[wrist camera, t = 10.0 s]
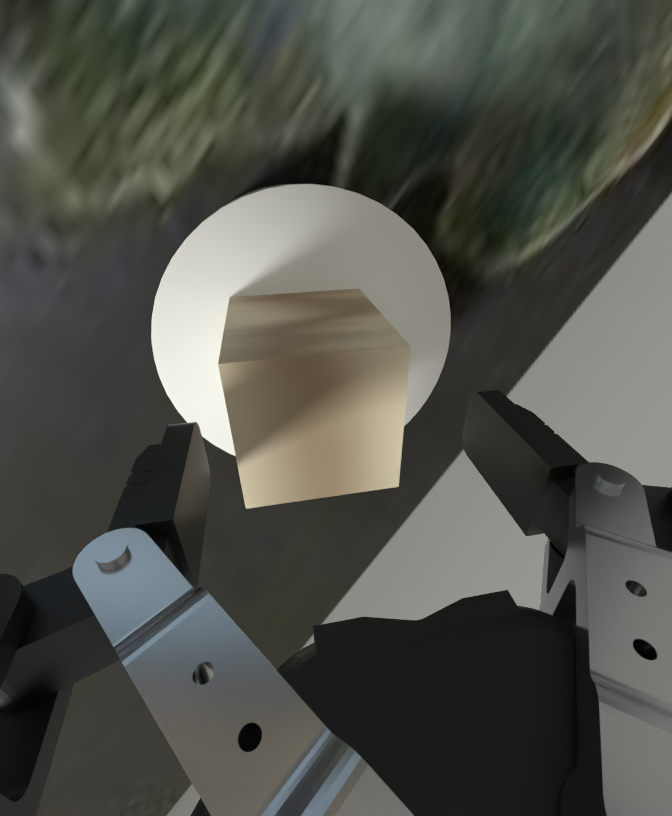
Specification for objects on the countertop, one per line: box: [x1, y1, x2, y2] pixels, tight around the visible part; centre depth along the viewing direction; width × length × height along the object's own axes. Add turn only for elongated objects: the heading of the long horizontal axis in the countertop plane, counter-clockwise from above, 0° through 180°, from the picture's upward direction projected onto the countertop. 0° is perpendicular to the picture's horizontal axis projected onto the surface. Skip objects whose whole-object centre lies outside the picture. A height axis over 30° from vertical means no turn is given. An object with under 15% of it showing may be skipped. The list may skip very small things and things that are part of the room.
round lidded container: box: [151, 184, 451, 456], centre depth 19 cm, size 12×12×7 cm
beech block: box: [218, 289, 411, 509], centre depth 14 cm, size 5×5×6 cm
